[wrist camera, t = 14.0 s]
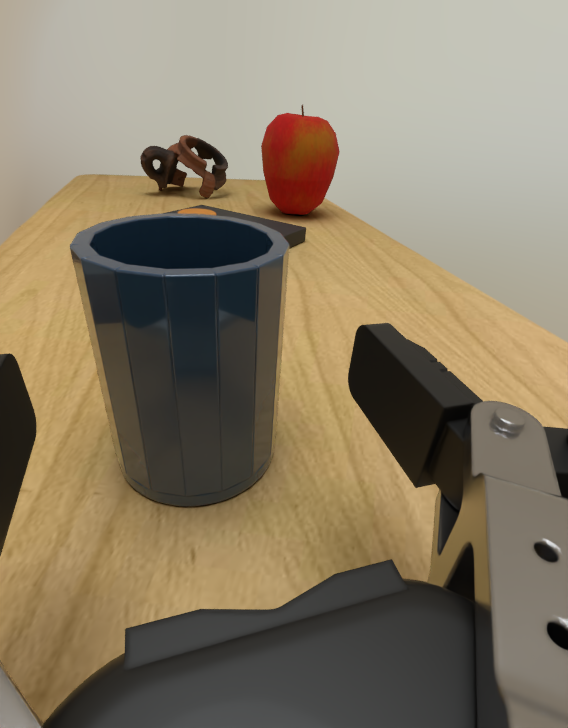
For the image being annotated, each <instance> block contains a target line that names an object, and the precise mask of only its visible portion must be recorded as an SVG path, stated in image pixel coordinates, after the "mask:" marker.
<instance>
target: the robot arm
mask: <svg viewBox="0 0 568 728" xmlns="http://www.w3.org/2000/svg"><path fill="white" fill-rule="evenodd" d="M348 383H349V389H350V392H351V395H352V397H353V398H354V400H355V401H356V403H357V404H358V405H359V407H360V408H361V410H362V411H363V413H364V414H365V415H366V417H367V418H368V420H369V421H370V423H371V424H372V426H373V427H374V428H375V430H376V431H377V433H378V434H379V436H380V437H381V439H382V440H383V441H384V443H385V444H386V446H387V447H388V449H389V450H390V452H391V453H392V454H393V456H394V457H395V459H396V460H397V462H398V463H399V465H400V466H401V467H402V469H403V470H404V472H405V473H406V475H407V476H408V477H409V479H410V480H411V482H412V483H413V485H414V486H415V488H418V487H422V486H427V485H432V484H436V485H437V486H438V488H439V489H440V490H439V492H438V495H437V497H436V503H435V516H434V529H433V542H432V555H431V566H430V572H429V577H428V581H427V582H423V581H417V580H410V579H402V577H401V575H400V574H399V572H398V570H397V568H396V566H395V564H394V562H393V560H392V559H391V560H387V561H383V562H380V563H376V564H372V565H368V566H364V567H360V568H357V569H353V570H349V571H345V572H341V573H337V574H334V575H333V576H331V577H329V578H328V579H326V580H324V581H323V582H321V583H319V584H318V585H316V586H314V587H313V588H311V589H309V590H308V591H306V592H304V593H303V594H301V595H299V596H298V597H296V598H294V599H293V600H291V601H289V602H288V603H286V604H284V605H283V606H281V607H279V608H276V609H271V610H235V609H199V610H195V611H192V612H188V613H184V614H180V615H176V616H172V617H169V618H165V619H161V620H157V621H153V622H149V623H146V624H142V625H138V626H134V627H130V628H126V629H125V653H124V654H122V655H120V656H119V657H117V658H115V659H113V660H112V661H110V662H109V663H107V664H106V665H105V666H103V667H102V668H100V669H99V670H98V671H96V672H95V673H93V674H92V675H91V676H90V677H89V678H87V679H86V680H85V681H84V682H83V683H82V684H81V685H79V686H78V687H77V688H76V689H75V690H74V691H73V692H72V693H71V694H70V695H69V696H68V697H67V698H66V699H65V700H64V701H63V702H62V703H61V704H60V705H59V706H58V707H57V708H56V709H55V710H54V712H53V713H52V714H51V715H50V717H49V718H48V719H47V720H46V722H45V723H44V724H43V722H42V721H41V719H40V718H39V717H38V715H37V714H36V712H35V711H34V709H33V708H32V706H31V705H30V703H29V702H28V701H27V699H26V698H25V696H24V695H23V693H22V692H21V690H20V689H19V687H18V686H17V684H16V683H15V682H14V680H13V679H12V677H11V676H10V674H9V673H8V671H7V670H6V668H5V667H4V665H3V664H2V662H1V661H0V728H568V429H564V428H553V427H543V426H542V425H541V424H540V422H539V421H538V420H537V419H536V418H534V417H533V416H532V415H530V414H529V413H527V412H526V411H524V410H522V409H520V408H518V407H516V406H513V405H510V404H507V403H503V402H497V401H484V402H483V401H482V400H481V399H480V398H479V397H478V396H477V395H476V394H475V393H473V392H472V391H471V390H470V389H469V388H468V387H467V386H466V385H465V384H464V383H462V382H461V381H460V380H459V379H458V378H457V377H456V376H455V375H454V374H453V373H451V372H450V371H447V368H446V367H445V366H444V365H443V364H442V363H440V362H437V359H436V358H435V357H434V356H433V355H432V354H430V353H429V352H428V351H427V350H426V349H425V348H423V347H421V346H419V345H417V344H415V343H414V342H412V341H410V340H408V339H406V338H405V337H404V336H403V335H401V334H400V333H399V332H398V331H397V330H396V329H395V328H394V327H393V326H392V325H391V324H389V323H382V324H370V325H361V326H360V327H359V328H358V329H357V332H356V335H355V341H354V346H353V352H352V357H351V363H350V368H349V374H348ZM35 437H36V418H35V413H34V409H33V406H32V403H31V400H30V397H29V395H28V392H27V389H26V386H25V383H24V380H23V377H22V374H21V371H20V368H19V365H18V363H17V361H16V359H15V357H14V356H13V355H12V354H0V555H1V552H2V549H3V545H4V542H5V539H6V535H7V532H8V529H9V525H10V522H11V518H12V515H13V512H14V508H15V505H16V502H17V498H18V495H19V492H20V488H21V485H22V482H23V478H24V475H25V471H26V468H27V465H28V461H29V458H30V455H31V451H32V448H33V445H34V441H35Z"/></svg>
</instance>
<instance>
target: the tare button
mask: <svg viewBox="0 0 568 728" xmlns="http://www.w3.org/2000/svg"><path fill="white" fill-rule="evenodd" d="M177 214H207V215H216V212H214V211H212V210H207V209H198V208H192V209H183V210H180V211H178V213H177Z"/></svg>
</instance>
